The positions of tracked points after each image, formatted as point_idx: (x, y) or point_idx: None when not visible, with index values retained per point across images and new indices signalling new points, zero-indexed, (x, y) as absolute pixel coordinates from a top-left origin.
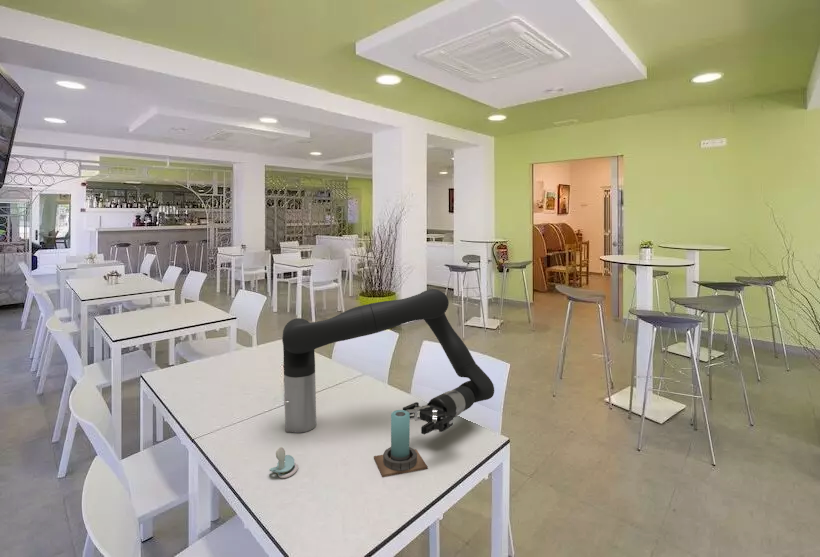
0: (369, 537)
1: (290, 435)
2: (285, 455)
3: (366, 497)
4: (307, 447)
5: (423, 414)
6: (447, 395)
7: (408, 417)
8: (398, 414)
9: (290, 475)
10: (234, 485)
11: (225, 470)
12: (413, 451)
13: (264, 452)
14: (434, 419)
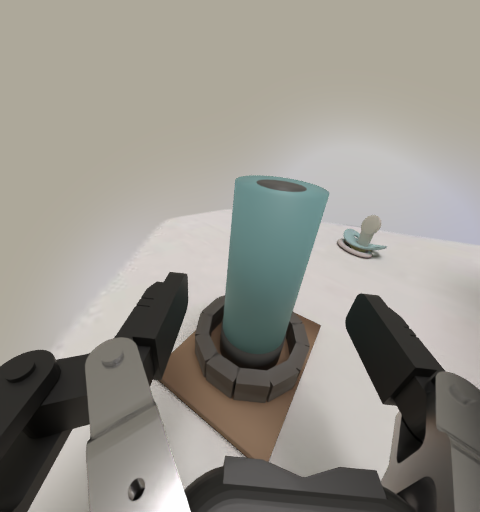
0: (174, 225)
1: None
2: (386, 246)
3: (223, 254)
4: (431, 291)
5: (327, 475)
6: None
7: (235, 189)
8: (283, 182)
9: (339, 243)
10: (351, 226)
11: (388, 233)
12: (227, 367)
13: (427, 260)
14: (120, 389)
